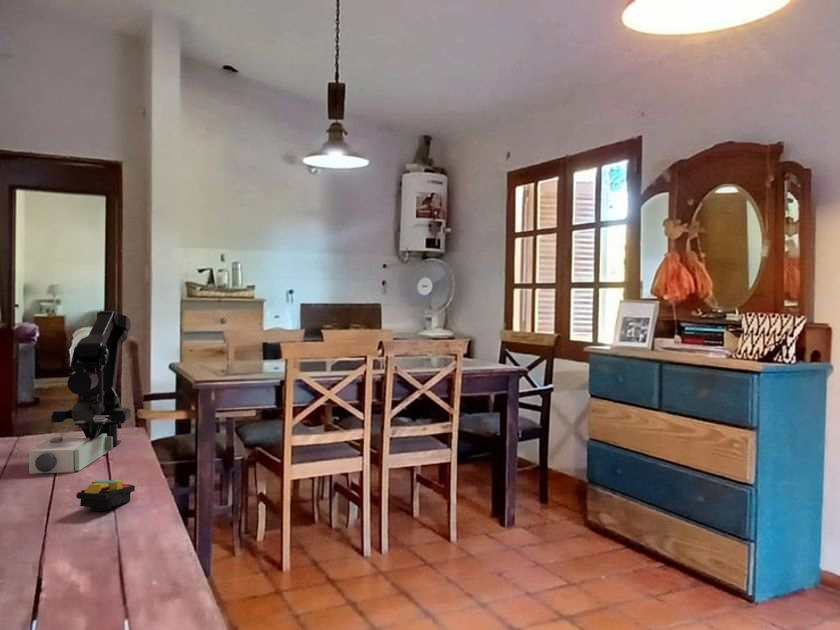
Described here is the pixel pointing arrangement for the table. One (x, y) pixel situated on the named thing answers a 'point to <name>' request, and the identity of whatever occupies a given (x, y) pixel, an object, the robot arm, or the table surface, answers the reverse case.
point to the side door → (92, 450)
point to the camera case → (55, 455)
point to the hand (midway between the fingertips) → (91, 447)
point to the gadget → (105, 494)
